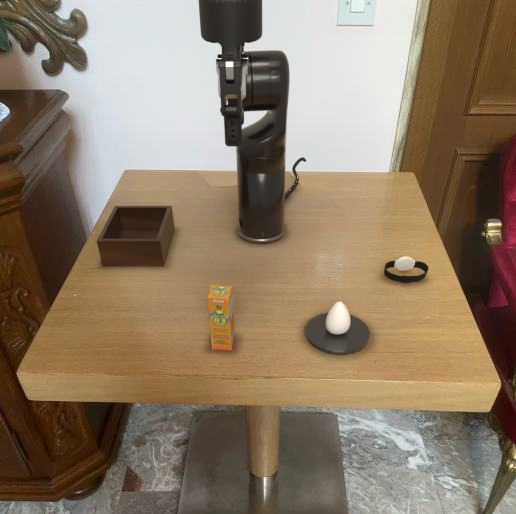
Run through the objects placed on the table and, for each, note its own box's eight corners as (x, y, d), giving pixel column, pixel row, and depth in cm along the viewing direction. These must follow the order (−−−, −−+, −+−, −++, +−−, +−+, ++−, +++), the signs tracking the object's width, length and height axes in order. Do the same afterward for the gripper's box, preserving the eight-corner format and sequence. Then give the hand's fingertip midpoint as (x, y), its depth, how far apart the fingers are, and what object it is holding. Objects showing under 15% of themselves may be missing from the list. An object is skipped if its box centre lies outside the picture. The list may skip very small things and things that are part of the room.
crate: (119, 229, 110) (114, 205, 106) (174, 229, 109) (171, 205, 106) (102, 266, 98) (96, 240, 95) (163, 266, 98) (160, 240, 95)
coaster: (314, 310, 87) (314, 307, 87) (374, 321, 84) (374, 318, 84) (297, 347, 80) (297, 344, 79) (363, 360, 77) (363, 357, 77)
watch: (423, 270, 96) (427, 253, 94) (428, 284, 93) (433, 266, 90) (381, 270, 96) (383, 252, 94) (385, 284, 93) (388, 266, 91)
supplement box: (210, 351, 79) (205, 296, 73) (215, 336, 82) (210, 282, 75) (232, 352, 79) (229, 297, 72) (236, 338, 82) (233, 284, 75)
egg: (326, 339, 80) (329, 310, 77) (323, 324, 83) (325, 295, 80) (351, 338, 80) (355, 309, 77) (346, 323, 83) (350, 294, 80)
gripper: (262, 1, 56) (262, 153, 66) (262, -15, 67) (262, 118, 77) (191, 2, 56) (203, 153, 66) (203, -15, 67) (211, 118, 77)
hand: (235, 134), depth 72 cm, fingers open, 8 cm apart
